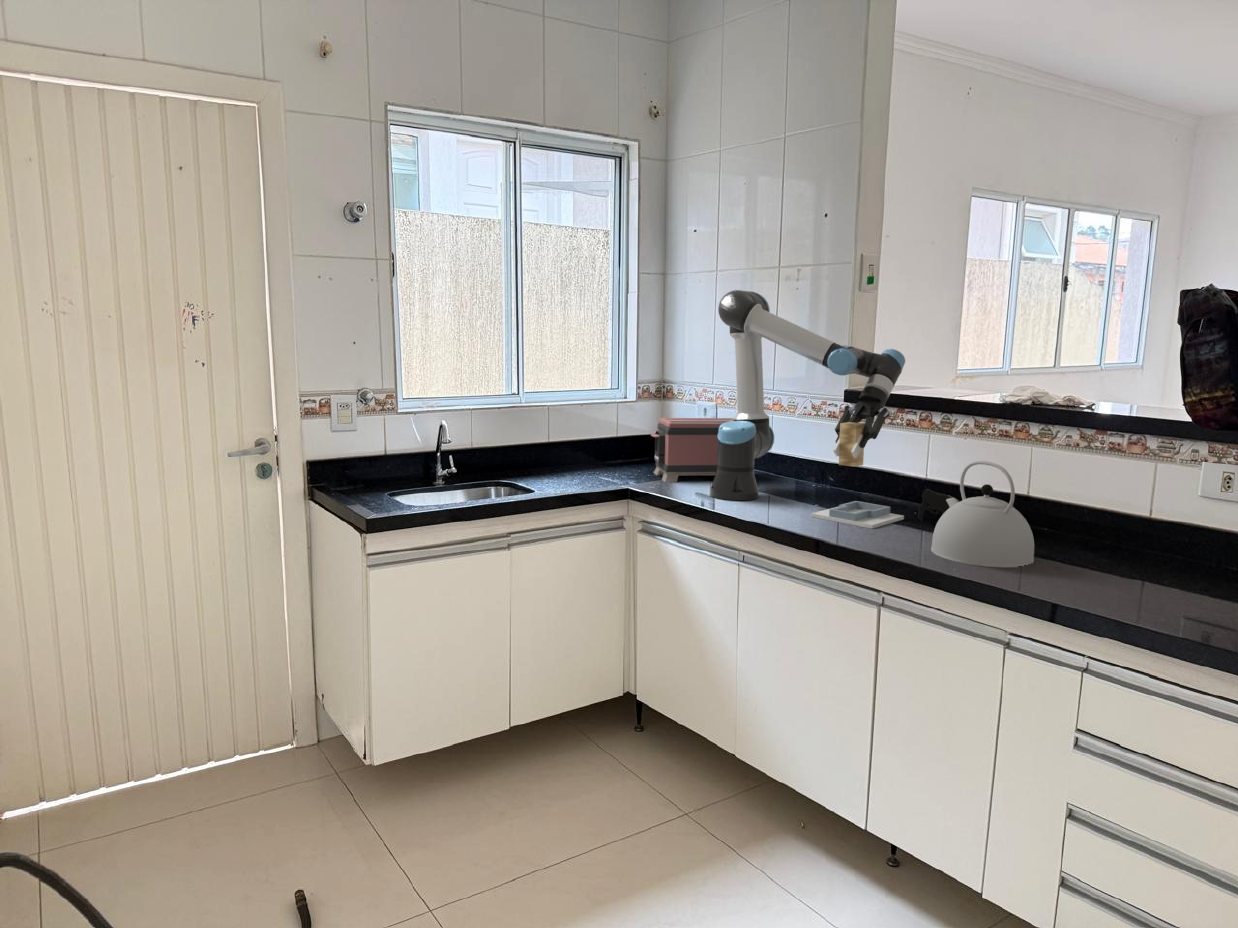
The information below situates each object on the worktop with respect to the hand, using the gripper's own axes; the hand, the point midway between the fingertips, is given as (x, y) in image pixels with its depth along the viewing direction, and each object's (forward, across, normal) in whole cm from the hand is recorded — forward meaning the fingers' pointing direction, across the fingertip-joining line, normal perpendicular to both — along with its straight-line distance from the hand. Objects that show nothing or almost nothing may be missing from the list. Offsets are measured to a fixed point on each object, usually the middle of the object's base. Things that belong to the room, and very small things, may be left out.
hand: (844, 454), depth 240 cm
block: (0, 0, -5) cm, 5 cm away
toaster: (-1, +68, -24) cm, 73 cm away
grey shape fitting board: (+12, -4, -13) cm, 19 cm away
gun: (+3, -24, -24) cm, 34 cm away
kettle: (+22, -44, -5) cm, 49 cm away
